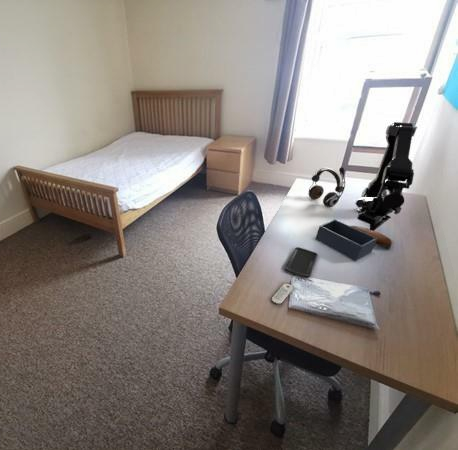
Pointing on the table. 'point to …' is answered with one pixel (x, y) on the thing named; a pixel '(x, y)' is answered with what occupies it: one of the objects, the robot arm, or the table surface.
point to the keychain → (282, 294)
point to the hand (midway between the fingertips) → (371, 230)
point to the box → (346, 239)
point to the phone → (301, 262)
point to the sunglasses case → (376, 236)
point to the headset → (318, 190)
